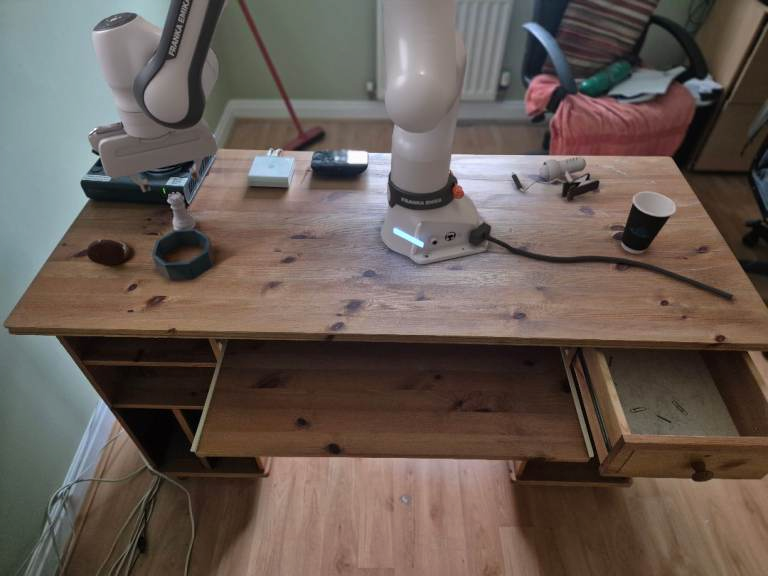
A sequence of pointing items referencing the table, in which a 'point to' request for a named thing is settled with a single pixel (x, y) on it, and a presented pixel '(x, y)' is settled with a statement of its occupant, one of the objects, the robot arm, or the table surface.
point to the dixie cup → (646, 220)
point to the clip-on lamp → (566, 167)
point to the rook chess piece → (180, 212)
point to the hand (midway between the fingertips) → (171, 183)
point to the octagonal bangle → (183, 268)
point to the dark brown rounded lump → (108, 252)
